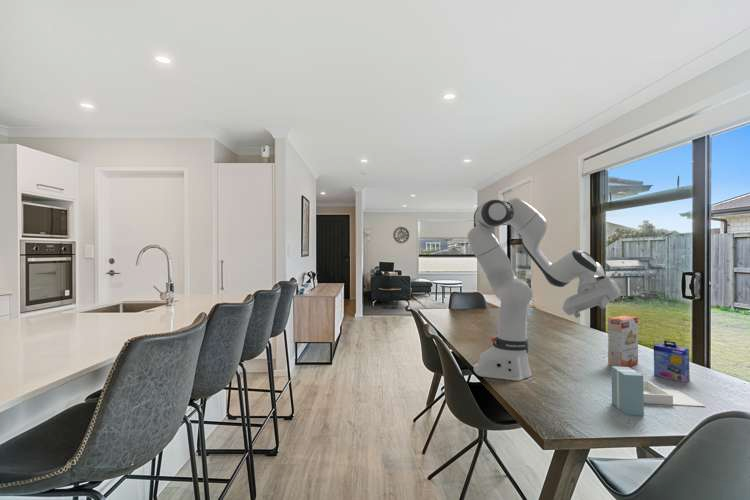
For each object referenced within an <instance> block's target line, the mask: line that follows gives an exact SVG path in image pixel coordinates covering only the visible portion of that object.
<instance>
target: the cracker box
mask: <svg viewBox="0 0 750 500" xmlns="http://www.w3.org/2000/svg"><path fill="white" fill-rule="evenodd" d="M607 318H608V319H607V326H608V327H607V350H608V351H607V354H608V355H607V359H608V360H607V365H608V366H610V367H611V366H617V367H629V368H630V367H632V366H635V365H638V364H639V317H638V316H632V315H619V316H612V317H607Z"/></svg>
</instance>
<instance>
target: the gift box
mask: <svg viewBox="0 0 750 500" xmlns="http://www.w3.org/2000/svg"><path fill="white" fill-rule="evenodd" d="M610 368H611V370H610V371H611V374H610V375H611V404H613V406H615V407H616V408H617V409H618V410H619V411H621V412H622V413H623V414H624V415H628V416H641V417H642V416H644V415H645V409H644V408H645V407H644V406H645V405H644V404H645V403H644V394H643V381H644V375H643V374H641V373H639V372H638V371H636V370H634V369H633V368H631V367H630V366H629V367H617V366H610Z"/></svg>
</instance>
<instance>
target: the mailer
mask: <svg viewBox="0 0 750 500" xmlns="http://www.w3.org/2000/svg"><path fill="white" fill-rule="evenodd" d="M643 394H644V404H647V405H649V404H651V405H652V404H653V405H668V406H683V407H684V406H685V407H697V406H699V408H706V405H704V404H703V403H701V402H699V401H698V400H695V399H694V398H692V397H690V396H689V395H687V394H685V393H683V392H681V391H680V390H678V389H665V388H660V387H659V386H658V385H656V384H654V383H652V382H651V381H649V380H643ZM700 406H701V407H700ZM702 406H703V407H702Z"/></svg>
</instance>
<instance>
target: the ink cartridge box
mask: <svg viewBox="0 0 750 500" xmlns="http://www.w3.org/2000/svg"><path fill="white" fill-rule="evenodd" d="M653 374H654V376H656V377H661V378H666V379H668V380H669V379H670V380H674V381H677V382H681V383H686V382H689V381H690V380H691V378H690V376H691V375H690V348H689V347H688V348H687V347H684V346H683V347H682V346H677V343H676V341H669V340H664V339H663V343H659V342H658V343H655V344H653Z"/></svg>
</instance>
